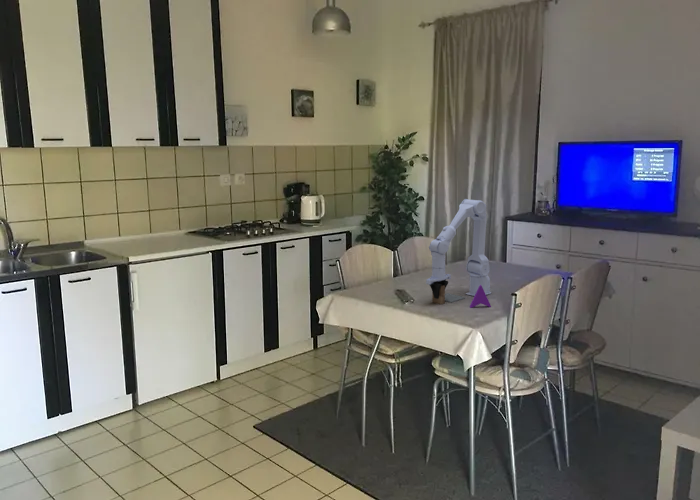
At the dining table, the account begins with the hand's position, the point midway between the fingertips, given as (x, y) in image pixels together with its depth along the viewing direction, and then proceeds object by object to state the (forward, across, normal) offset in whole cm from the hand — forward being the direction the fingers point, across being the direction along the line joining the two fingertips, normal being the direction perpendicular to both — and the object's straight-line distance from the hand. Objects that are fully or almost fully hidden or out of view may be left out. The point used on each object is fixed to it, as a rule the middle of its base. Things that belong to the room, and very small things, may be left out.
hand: (438, 297), depth 257 cm
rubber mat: (+2, -9, -1) cm, 9 cm away
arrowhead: (+3, -7, +17) cm, 19 cm away
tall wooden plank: (+2, 0, 0) cm, 2 cm away
